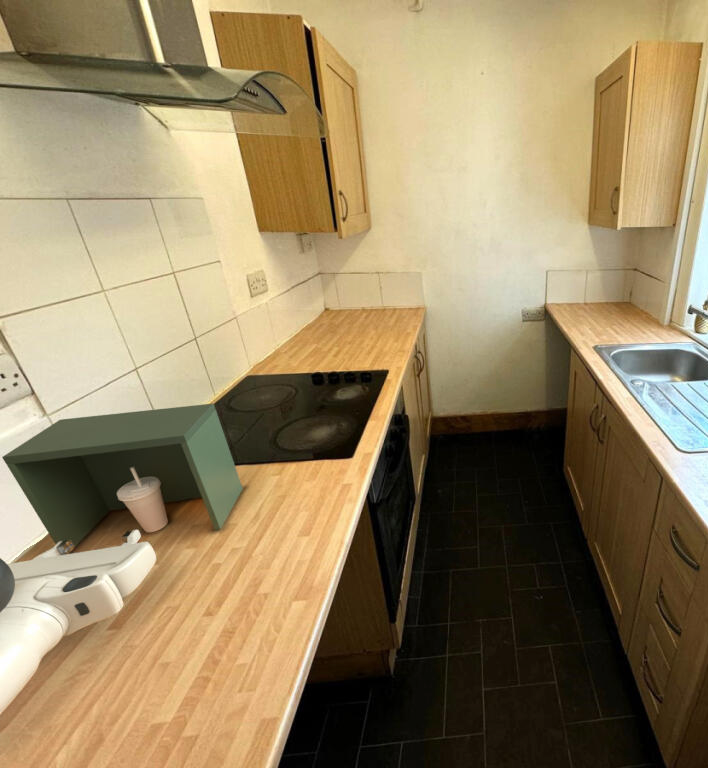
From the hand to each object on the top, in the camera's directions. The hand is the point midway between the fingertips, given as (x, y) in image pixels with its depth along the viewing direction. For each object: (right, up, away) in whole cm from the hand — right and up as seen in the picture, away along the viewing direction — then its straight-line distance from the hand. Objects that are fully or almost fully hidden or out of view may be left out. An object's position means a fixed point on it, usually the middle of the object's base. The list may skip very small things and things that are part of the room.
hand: (101, 538), depth 69 cm
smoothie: (-3, -3, +14) cm, 14 cm away
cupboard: (-3, -2, +16) cm, 16 cm away
